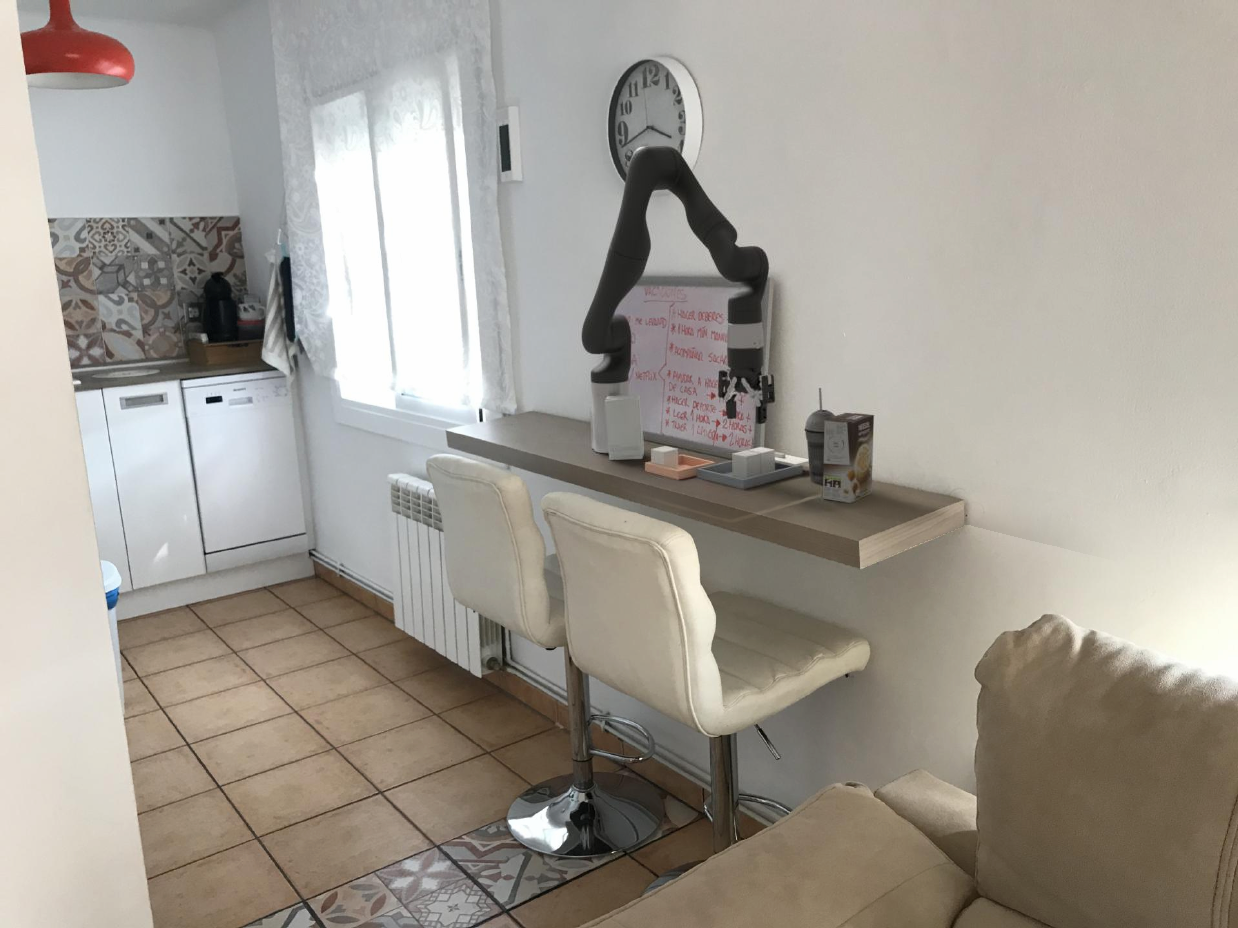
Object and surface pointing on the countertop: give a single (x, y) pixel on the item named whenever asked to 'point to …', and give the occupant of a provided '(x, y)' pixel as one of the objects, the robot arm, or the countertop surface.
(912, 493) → the countertop surface
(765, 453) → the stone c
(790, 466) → the blue-grey shallow rectangular tray
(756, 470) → the white cuboid
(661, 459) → the white block
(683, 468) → the orange square tray
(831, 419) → the coffee box
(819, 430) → the beverage cup
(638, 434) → the skincare box
